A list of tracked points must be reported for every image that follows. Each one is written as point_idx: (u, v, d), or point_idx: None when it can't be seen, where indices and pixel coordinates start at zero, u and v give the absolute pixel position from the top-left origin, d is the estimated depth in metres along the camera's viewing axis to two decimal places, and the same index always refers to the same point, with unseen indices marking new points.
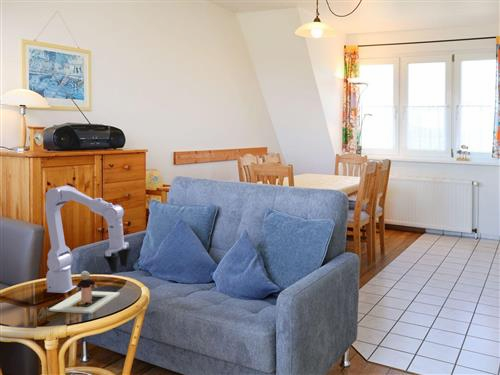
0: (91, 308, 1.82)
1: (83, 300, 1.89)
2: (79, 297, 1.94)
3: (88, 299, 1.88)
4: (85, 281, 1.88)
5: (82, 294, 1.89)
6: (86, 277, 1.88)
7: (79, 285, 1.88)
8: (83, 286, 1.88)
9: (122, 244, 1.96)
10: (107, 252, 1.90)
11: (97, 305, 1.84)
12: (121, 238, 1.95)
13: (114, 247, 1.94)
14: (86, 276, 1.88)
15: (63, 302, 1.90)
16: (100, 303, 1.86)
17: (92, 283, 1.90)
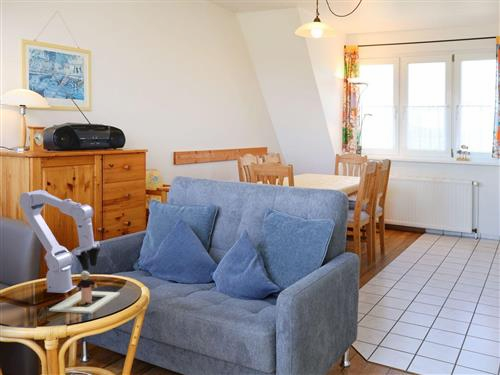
0: (91, 308, 1.82)
1: (83, 300, 1.89)
2: (79, 297, 1.94)
3: (88, 299, 1.88)
4: (85, 281, 1.88)
5: (82, 294, 1.89)
6: (86, 277, 1.88)
7: (79, 285, 1.88)
8: (83, 286, 1.88)
9: (92, 243, 1.98)
10: (76, 251, 1.93)
11: (97, 305, 1.84)
12: (90, 237, 1.98)
13: (84, 246, 1.97)
14: (86, 276, 1.88)
15: (63, 302, 1.90)
16: (100, 303, 1.86)
17: (92, 283, 1.90)
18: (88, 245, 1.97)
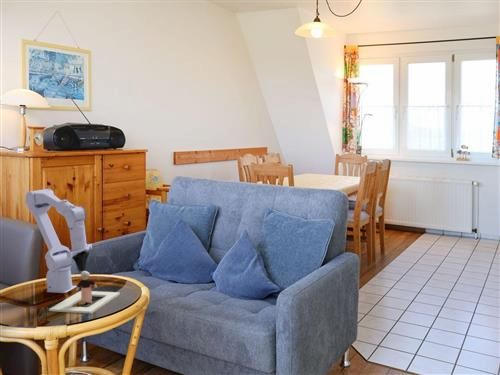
0: (91, 308, 1.82)
1: (83, 300, 1.89)
2: (79, 297, 1.94)
3: (88, 299, 1.88)
4: (85, 281, 1.88)
5: (82, 294, 1.89)
6: (86, 277, 1.88)
7: (79, 285, 1.88)
8: (83, 286, 1.88)
9: (84, 245, 1.95)
10: (68, 254, 1.89)
11: (97, 305, 1.84)
12: (83, 239, 1.94)
13: (76, 249, 1.93)
14: (86, 276, 1.88)
15: (63, 302, 1.90)
16: (100, 303, 1.86)
17: (92, 283, 1.90)
18: (80, 248, 1.94)
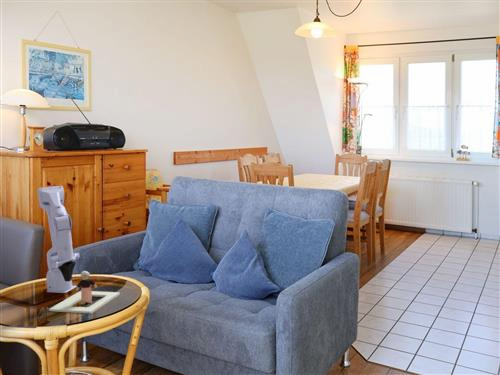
0: (91, 308, 1.82)
1: (83, 300, 1.89)
2: (79, 297, 1.94)
3: (88, 299, 1.88)
4: (85, 281, 1.88)
5: (82, 294, 1.89)
6: (86, 277, 1.88)
7: (79, 285, 1.88)
8: (83, 286, 1.88)
9: (70, 255, 1.89)
10: (53, 264, 1.83)
11: (97, 305, 1.84)
12: (69, 249, 1.88)
13: (62, 259, 1.87)
14: (86, 276, 1.88)
15: (63, 302, 1.90)
16: (100, 303, 1.86)
17: (92, 283, 1.90)
18: (67, 257, 1.88)
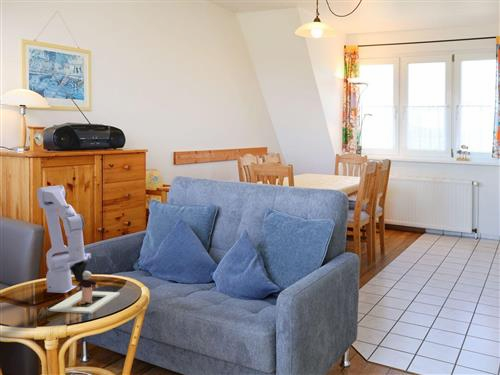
0: (91, 308, 1.82)
1: (83, 300, 1.89)
2: (79, 297, 1.94)
3: (88, 299, 1.88)
4: (86, 281, 1.88)
5: (83, 293, 1.89)
6: (88, 277, 1.88)
7: (80, 284, 1.88)
8: (84, 286, 1.88)
9: (82, 256, 1.87)
10: (65, 264, 1.82)
11: (97, 305, 1.84)
12: (81, 249, 1.87)
13: (73, 259, 1.86)
14: (88, 276, 1.88)
15: (63, 302, 1.90)
16: (100, 303, 1.86)
17: (93, 283, 1.90)
18: (78, 258, 1.86)
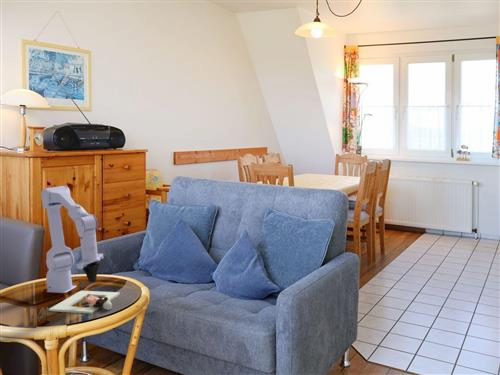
0: (91, 308, 1.82)
1: (87, 301, 1.86)
2: (79, 297, 1.94)
3: None
4: None
5: None
6: None
7: None
8: None
9: (95, 256, 1.86)
10: (78, 265, 1.80)
11: None
12: (94, 250, 1.85)
13: (86, 259, 1.84)
14: None
15: (63, 302, 1.90)
16: None
17: None
18: (91, 258, 1.85)
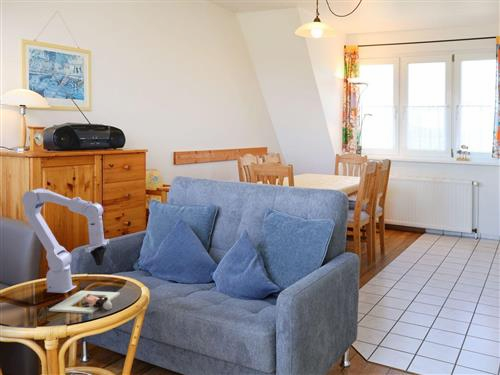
0: (91, 308, 1.82)
1: (87, 301, 1.86)
2: (79, 297, 1.94)
3: None
4: None
5: None
6: None
7: None
8: None
9: (102, 241, 2.02)
10: (86, 248, 1.96)
11: None
12: (101, 235, 2.01)
13: (94, 244, 2.00)
14: None
15: (63, 302, 1.90)
16: None
17: None
18: (98, 243, 2.01)
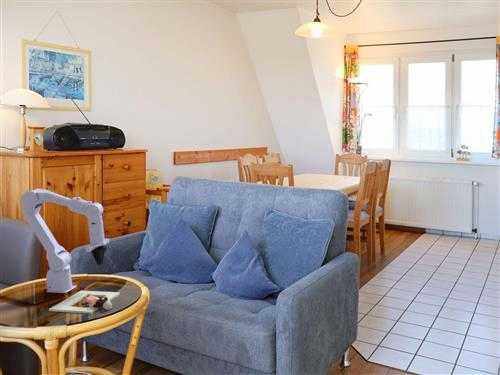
0: (91, 308, 1.82)
1: (87, 301, 1.86)
2: (79, 297, 1.94)
3: None
4: None
5: None
6: None
7: None
8: None
9: (102, 240, 2.03)
10: (87, 248, 1.97)
11: None
12: (101, 234, 2.02)
13: (94, 243, 2.01)
14: None
15: (63, 302, 1.90)
16: None
17: None
18: (99, 242, 2.02)
